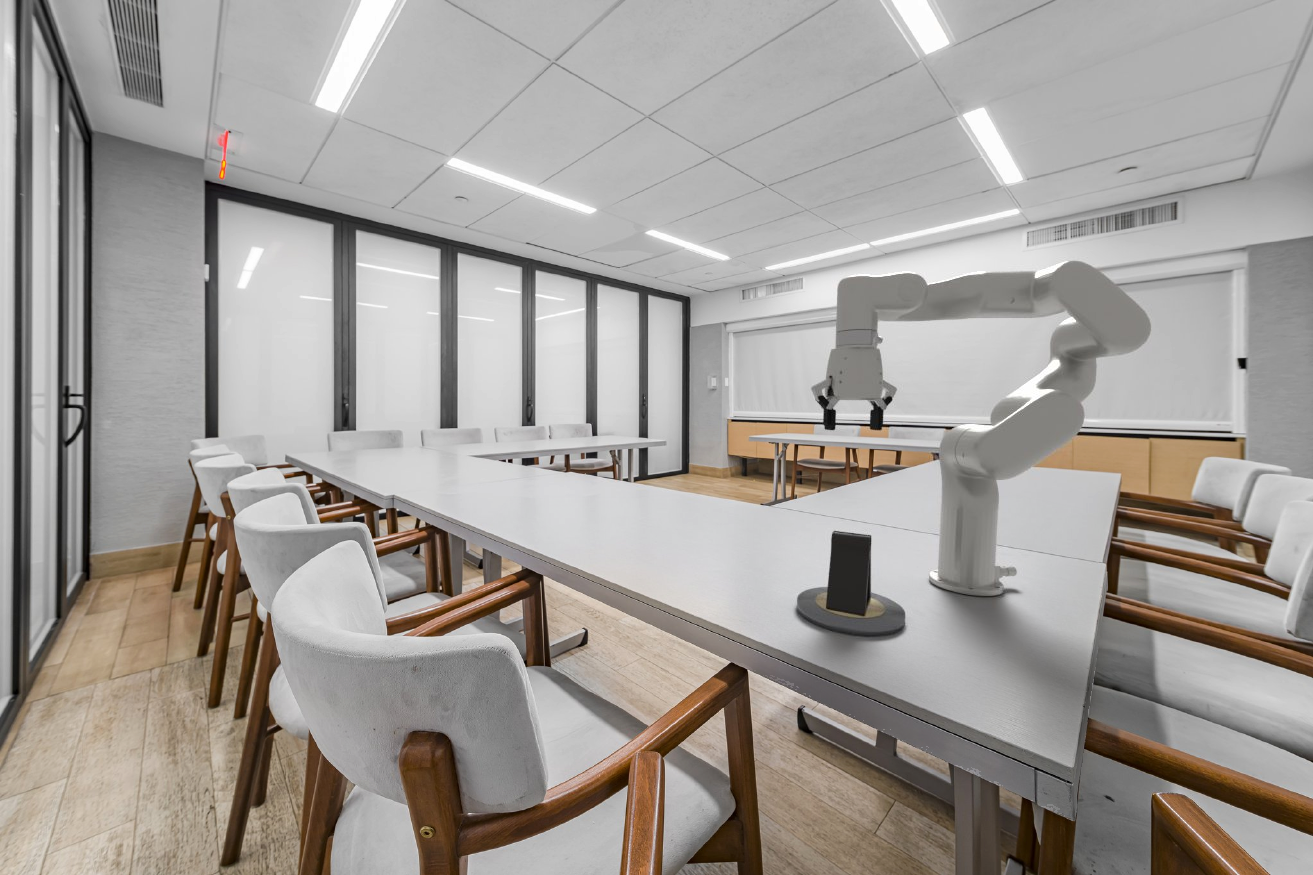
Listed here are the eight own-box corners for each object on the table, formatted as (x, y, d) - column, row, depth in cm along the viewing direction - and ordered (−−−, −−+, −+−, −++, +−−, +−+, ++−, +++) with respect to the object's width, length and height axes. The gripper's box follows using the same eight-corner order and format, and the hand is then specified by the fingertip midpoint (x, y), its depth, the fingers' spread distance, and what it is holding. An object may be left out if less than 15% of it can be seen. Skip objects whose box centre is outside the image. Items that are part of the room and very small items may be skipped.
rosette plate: (867, 592, 95) (868, 583, 95) (928, 633, 79) (929, 622, 78) (781, 596, 93) (781, 587, 93) (825, 639, 76) (825, 628, 76)
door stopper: (835, 591, 91) (837, 525, 90) (871, 598, 88) (874, 530, 87) (825, 609, 83) (827, 537, 82) (864, 616, 80) (867, 542, 79)
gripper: (885, 345, 104) (882, 429, 105) (805, 343, 101) (802, 428, 102) (909, 341, 96) (905, 431, 97) (823, 338, 94) (820, 430, 95)
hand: (852, 429), depth 100 cm, fingers open, 9 cm apart
